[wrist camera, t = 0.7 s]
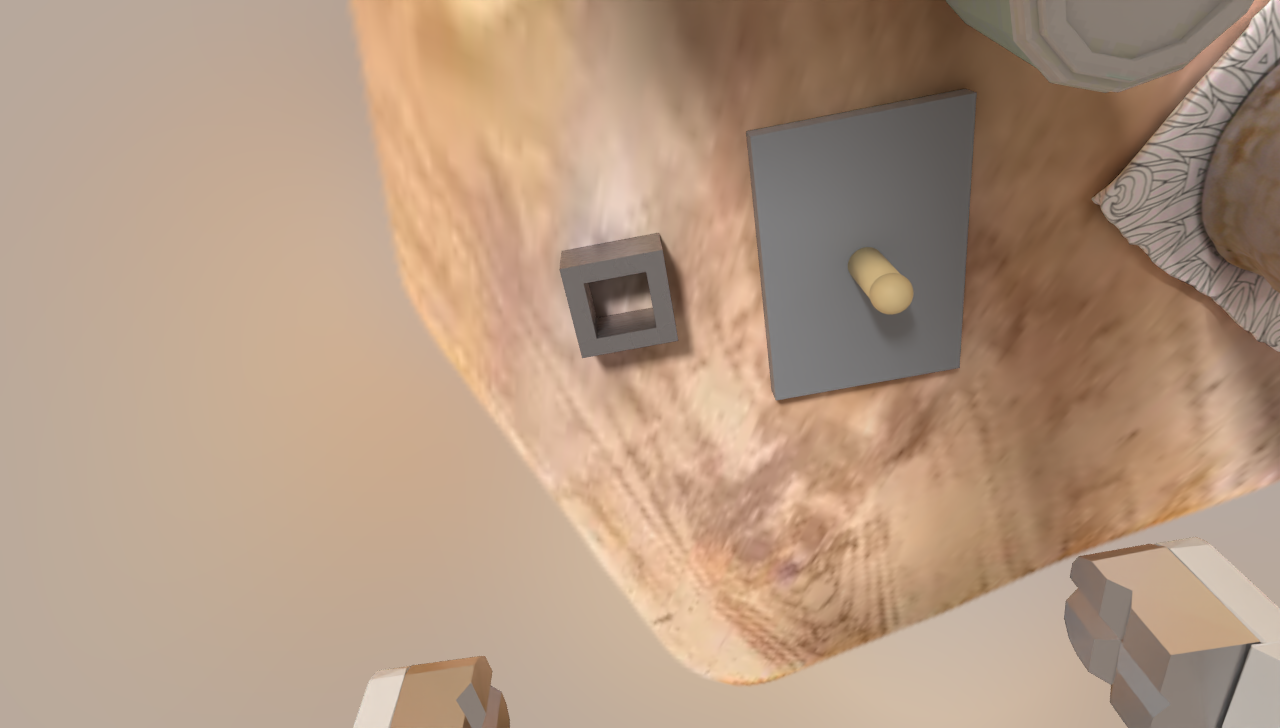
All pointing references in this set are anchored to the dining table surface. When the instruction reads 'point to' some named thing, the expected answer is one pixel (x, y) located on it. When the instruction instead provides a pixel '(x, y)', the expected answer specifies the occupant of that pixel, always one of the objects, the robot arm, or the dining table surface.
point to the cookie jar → (1216, 184)
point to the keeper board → (863, 241)
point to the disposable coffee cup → (1102, 35)
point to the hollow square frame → (623, 327)
